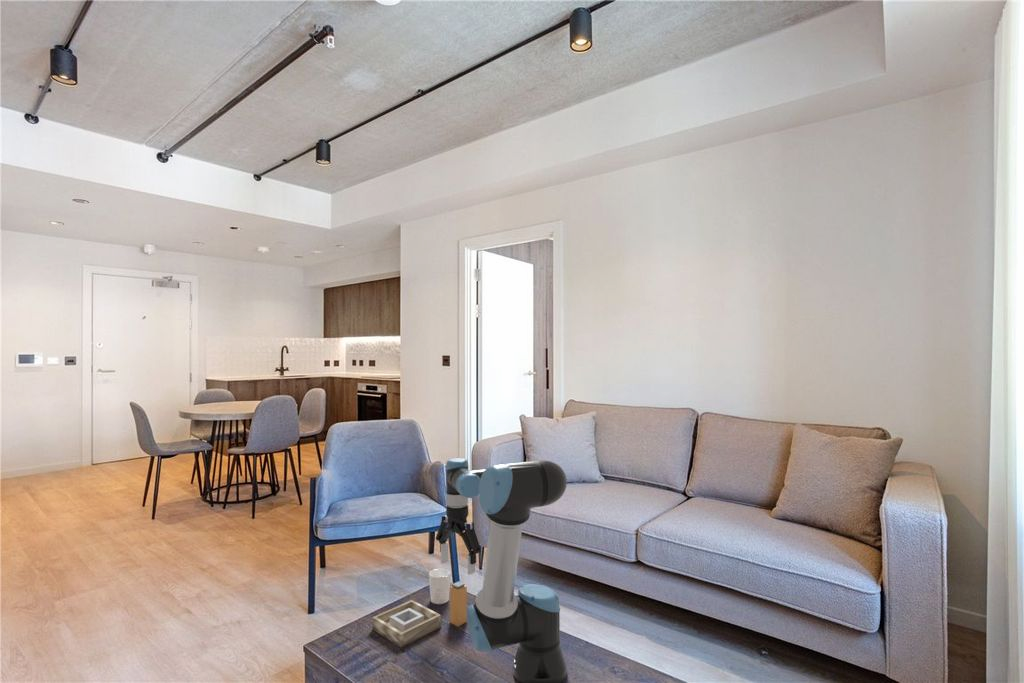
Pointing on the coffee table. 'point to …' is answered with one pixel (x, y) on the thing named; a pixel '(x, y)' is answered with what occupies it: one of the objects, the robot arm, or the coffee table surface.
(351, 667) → the coffee table surface
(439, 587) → the white cup
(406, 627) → the socket
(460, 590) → the connector
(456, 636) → the coffee table surface
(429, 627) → the box
